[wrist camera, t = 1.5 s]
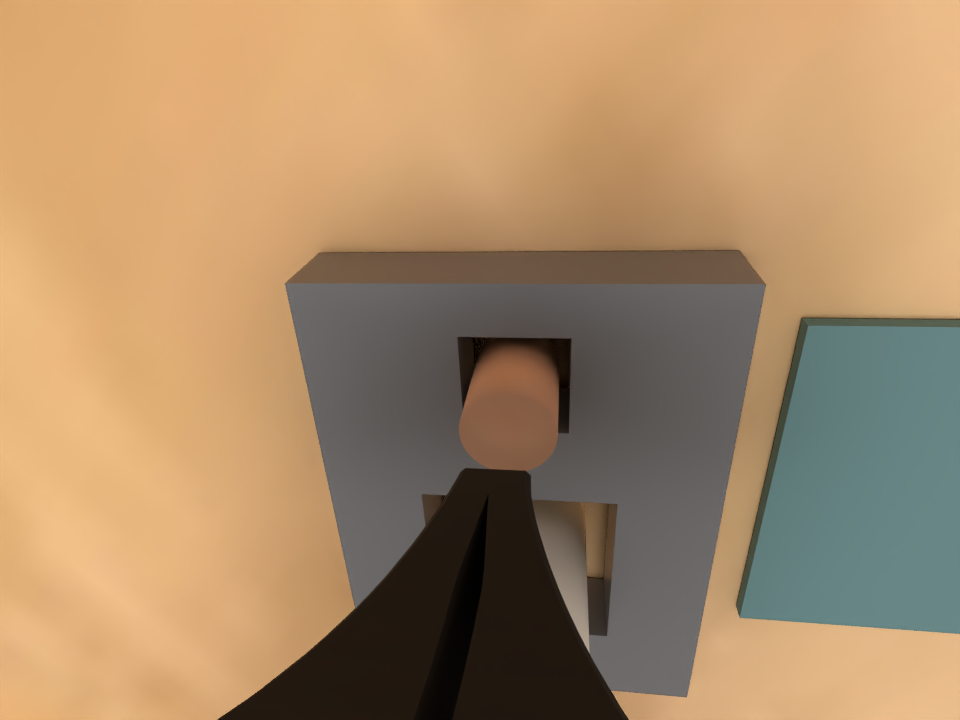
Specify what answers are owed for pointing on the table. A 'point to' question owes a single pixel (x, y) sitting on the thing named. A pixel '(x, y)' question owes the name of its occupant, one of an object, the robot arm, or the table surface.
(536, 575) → the robot arm
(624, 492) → the grey board with holes
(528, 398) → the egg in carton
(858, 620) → the mat
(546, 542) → the filter cartridge
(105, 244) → the table surface
